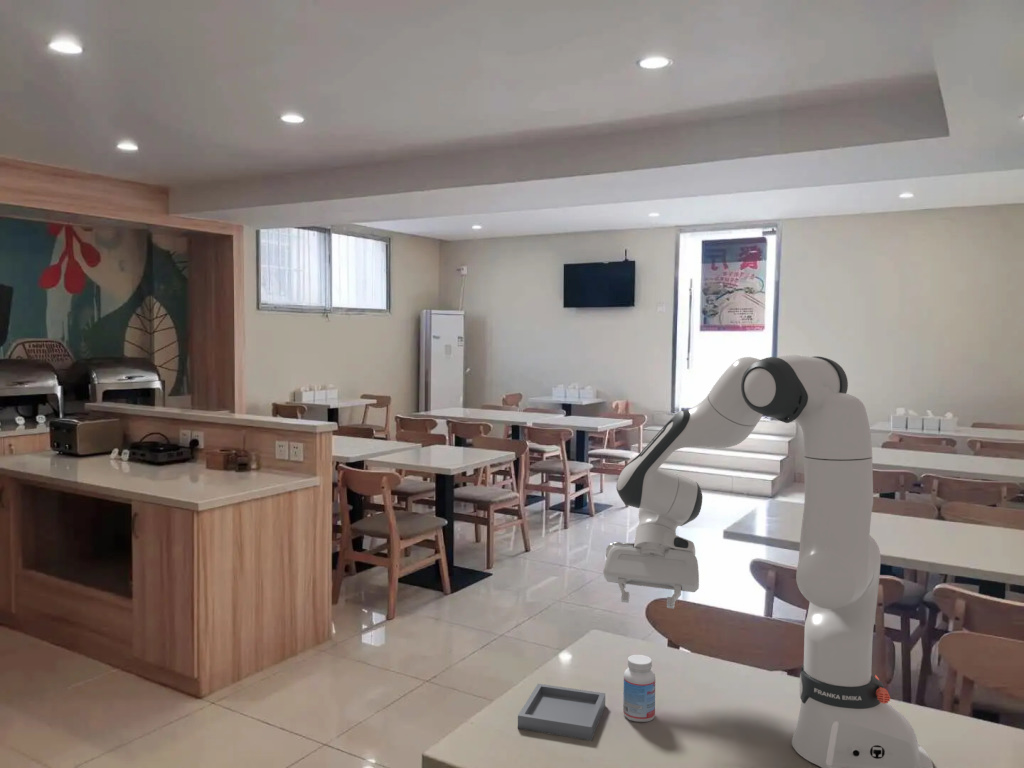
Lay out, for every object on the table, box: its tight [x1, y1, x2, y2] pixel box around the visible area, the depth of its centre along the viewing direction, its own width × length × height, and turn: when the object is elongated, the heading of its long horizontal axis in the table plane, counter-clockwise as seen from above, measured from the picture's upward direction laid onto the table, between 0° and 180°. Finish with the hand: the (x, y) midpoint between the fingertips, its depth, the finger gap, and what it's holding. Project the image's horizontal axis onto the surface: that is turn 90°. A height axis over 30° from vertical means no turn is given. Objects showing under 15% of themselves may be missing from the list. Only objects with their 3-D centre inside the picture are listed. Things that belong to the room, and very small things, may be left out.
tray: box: [517, 683, 606, 741], centre depth 147 cm, size 14×14×2 cm
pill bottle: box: [622, 654, 656, 723], centre depth 147 cm, size 6×6×11 cm
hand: (647, 604), depth 159 cm, fingers open, 8 cm apart
